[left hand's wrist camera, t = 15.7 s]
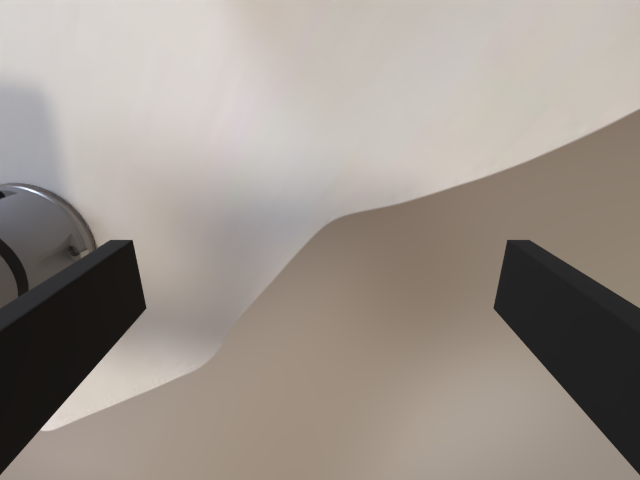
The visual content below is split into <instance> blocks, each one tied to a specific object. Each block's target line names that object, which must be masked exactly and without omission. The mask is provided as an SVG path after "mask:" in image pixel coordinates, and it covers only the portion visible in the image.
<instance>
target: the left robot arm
mask: <svg viewBox="0 0 640 480" xmlns="http://www.w3.org/2000/svg"><path fill="white" fill-rule="evenodd" d="M145 309H146V304H145V299H144V294H143V289H142V284H141V279H140V274H139V269H138V264H137V260H136V255H135V250H134V245H133V240H110V241H108V242H107V243H105V244H103V245H102V246H100V247H99V248H97V249H95V244H94V240H93V237H92V235H91V232H90V231H89V229H88V227H87V225H86V223H85V222H84V220H83V219H82V218H81V216H80V215H79V214H78V213H77V212H76V211H75V210H74V209H73V208H72V207H71V206H70V205H69V204H68V203H66V202H65V201H64V200H62V199H61V198H60V197H58V196H56V195H55V194H53V193H51V192H49V191H47V190H44V189H42V188H39V187H36V186H32V185H28V184H20V183H9V184H2V185H0V475H1V473H2V472H3V471H4V470H5V469H6V468H7V467H8V466H9V464H10V463H11V462H12V461H13V460H14V459H15V458H16V456H17V455H18V454H19V453H20V452H21V451H22V450H23V448H24V447H25V446H26V445H27V444H28V443H29V441H30V440H31V439H32V438H33V437H34V436H35V435H36V434H37V432H38V431H39V430H40V429H41V428H42V427H43V426H44V424H45V423H46V422H47V421H48V420H49V419H50V418H51V417H52V415H53V414H54V413H55V412H56V411H57V410H58V409H59V407H60V406H61V405H62V404H63V403H64V402H65V401H66V399H67V398H68V397H69V396H70V395H71V394H72V393H73V391H74V390H75V389H76V388H77V387H78V386H79V385H80V383H81V382H82V381H83V380H84V379H85V378H86V377H87V375H88V374H89V373H90V372H91V371H92V370H93V369H94V367H95V366H96V365H97V364H98V363H99V362H100V361H101V360H102V358H103V357H104V356H105V355H106V354H107V353H108V352H109V350H110V349H111V348H112V347H113V346H114V345H115V344H116V342H117V341H118V340H119V339H120V338H121V337H122V336H123V334H124V333H125V332H126V331H127V330H128V329H129V328H130V326H131V325H132V324H133V323H134V322H135V321H136V320H137V318H138V317H139V316H140V315H141V314H142V313H143V312H144V311H145ZM494 309H495V311H496V312H497V313H498V314H499V315H500V316H501V317H502V318H503V320H504V321H505V322H506V323H507V324H508V325H509V326H510V328H511V329H512V330H513V331H514V332H515V333H516V334H517V336H518V337H519V338H520V339H521V340H522V341H523V342H524V344H525V345H526V346H527V347H528V348H529V349H530V350H531V352H532V353H533V354H534V355H535V356H536V357H537V358H538V360H539V361H540V362H541V363H542V364H543V365H544V366H545V367H546V369H547V370H548V371H549V372H550V373H551V374H552V375H553V376H554V378H555V379H556V380H557V381H558V382H559V383H560V385H561V386H562V387H563V388H564V389H565V390H566V391H567V393H568V394H569V395H570V396H571V397H572V398H573V399H574V401H575V402H576V403H577V404H578V405H579V406H580V407H581V408H582V410H583V411H584V412H585V413H586V414H587V415H588V417H589V418H590V419H591V420H592V421H593V422H594V423H595V424H596V426H597V427H598V428H599V429H600V430H601V431H602V432H603V434H604V435H605V436H606V437H607V438H608V439H609V440H610V442H611V443H612V444H613V445H614V446H615V447H616V448H617V450H618V451H619V452H620V453H621V454H622V455H623V456H624V458H625V459H626V460H627V461H628V462H629V463H630V464H631V466H632V467H633V468H634V469H635V470H636V471H637V472H638V473H639V475H640V308H638V307H637V306H635V305H633V304H632V303H630V302H629V301H627V300H625V299H624V298H622V297H621V296H619V295H617V294H616V293H614V292H612V291H611V290H609V289H608V288H606V287H604V286H603V285H601V284H600V283H598V282H596V281H595V280H593V279H591V278H590V277H588V276H587V275H585V274H583V273H582V272H580V271H578V270H577V269H575V268H574V267H572V266H570V265H569V264H567V263H566V262H564V261H562V260H561V259H559V258H557V257H556V256H554V255H553V254H551V253H549V252H548V251H546V250H545V249H543V248H541V247H540V246H538V245H536V244H535V243H533V242H532V241H530V240H507V245H506V250H505V255H504V260H503V265H502V269H501V274H500V279H499V284H498V289H497V294H496V299H495V304H494Z"/></svg>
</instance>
